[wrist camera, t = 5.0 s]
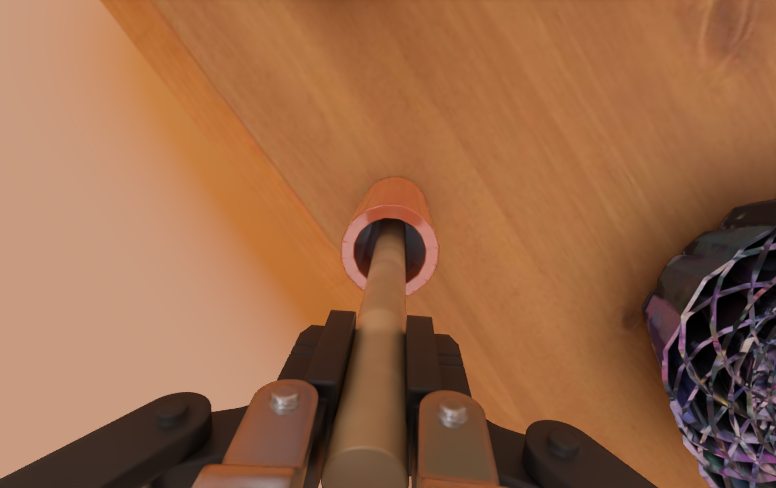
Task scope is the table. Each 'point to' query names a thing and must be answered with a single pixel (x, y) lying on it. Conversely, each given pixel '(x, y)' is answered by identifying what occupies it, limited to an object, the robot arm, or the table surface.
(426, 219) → the crock
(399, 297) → the stirring stick
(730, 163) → the table surface
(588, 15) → the table surface
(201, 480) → the robot arm
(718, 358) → the decorative bowl
